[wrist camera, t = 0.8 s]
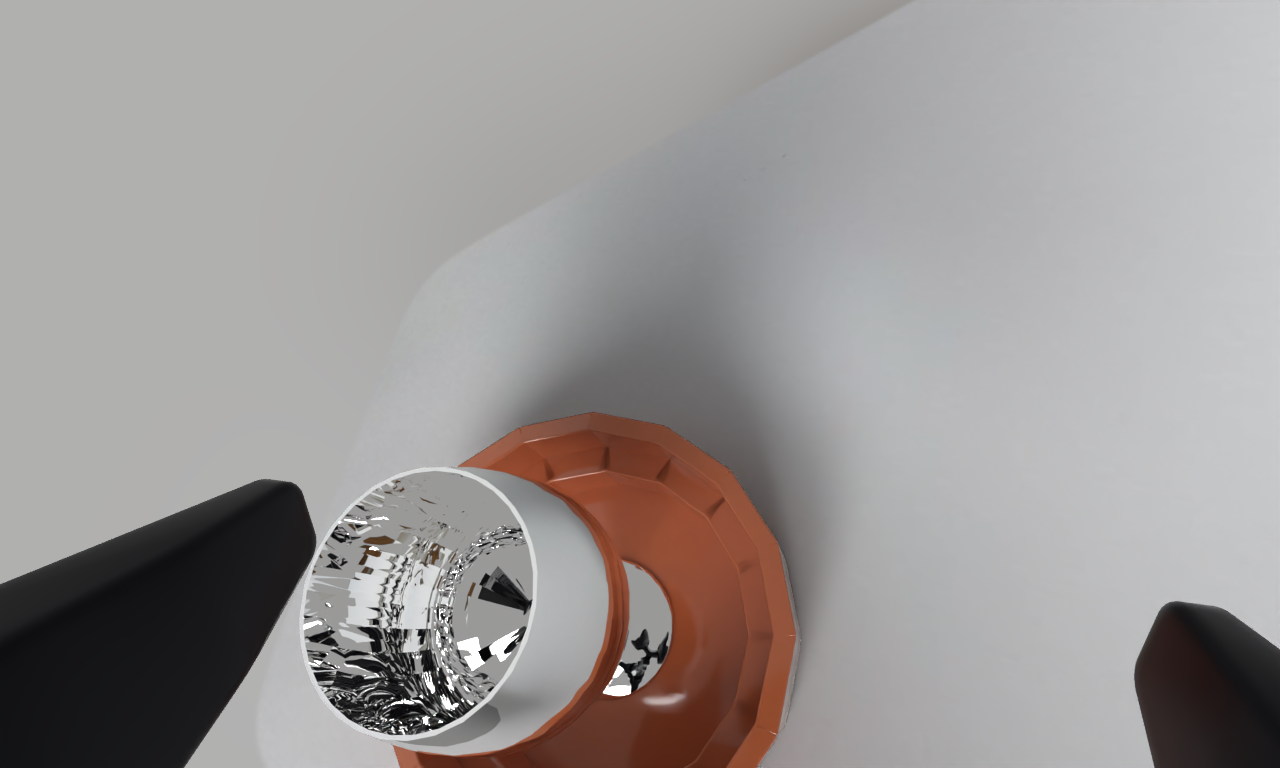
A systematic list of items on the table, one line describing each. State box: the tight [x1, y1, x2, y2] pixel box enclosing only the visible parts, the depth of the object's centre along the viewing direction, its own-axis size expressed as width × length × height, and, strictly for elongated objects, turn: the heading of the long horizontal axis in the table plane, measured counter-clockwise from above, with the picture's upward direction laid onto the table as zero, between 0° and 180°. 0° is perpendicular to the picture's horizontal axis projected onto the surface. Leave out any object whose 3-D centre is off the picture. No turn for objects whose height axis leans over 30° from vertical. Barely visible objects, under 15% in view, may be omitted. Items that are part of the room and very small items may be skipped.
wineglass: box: [300, 467, 675, 758], centre depth 18 cm, size 6×6×12 cm
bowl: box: [393, 412, 801, 768], centre depth 22 cm, size 12×12×4 cm
